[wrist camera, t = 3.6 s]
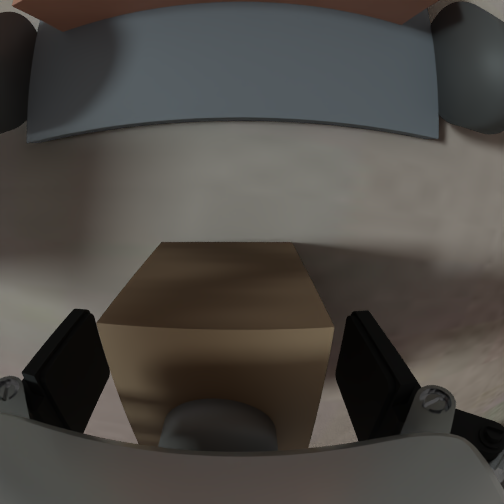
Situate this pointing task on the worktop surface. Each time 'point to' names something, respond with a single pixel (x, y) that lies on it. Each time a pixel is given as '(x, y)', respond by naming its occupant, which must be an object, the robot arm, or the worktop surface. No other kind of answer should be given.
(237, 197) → the worktop surface
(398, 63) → the chassis
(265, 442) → the tan block
